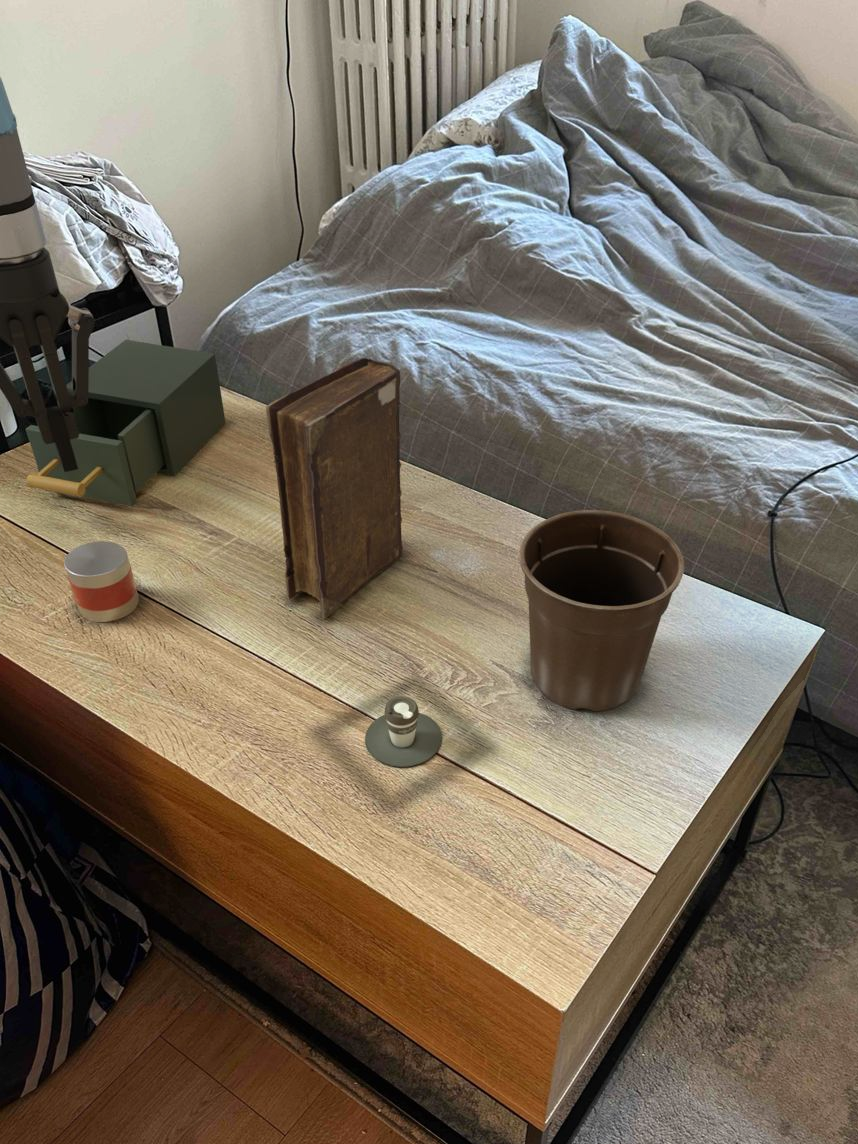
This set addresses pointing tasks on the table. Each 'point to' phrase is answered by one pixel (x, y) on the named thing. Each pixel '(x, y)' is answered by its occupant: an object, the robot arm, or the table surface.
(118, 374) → the cabinet
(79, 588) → the tin can
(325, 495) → the book
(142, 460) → the drawer
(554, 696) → the plant pot
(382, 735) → the coffee cup
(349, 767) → the table surface
